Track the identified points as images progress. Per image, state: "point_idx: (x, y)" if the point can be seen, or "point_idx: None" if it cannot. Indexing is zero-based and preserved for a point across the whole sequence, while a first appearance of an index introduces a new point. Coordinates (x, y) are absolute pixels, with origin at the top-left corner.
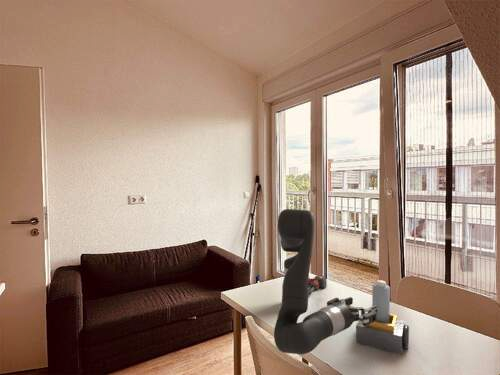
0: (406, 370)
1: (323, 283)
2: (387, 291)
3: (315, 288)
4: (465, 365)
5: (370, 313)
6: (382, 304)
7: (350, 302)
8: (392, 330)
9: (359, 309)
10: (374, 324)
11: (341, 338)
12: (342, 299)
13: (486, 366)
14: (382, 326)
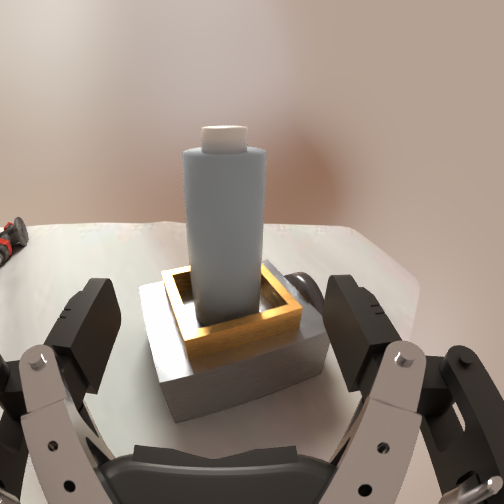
0: None
1: (18, 235)
2: (265, 165)
3: (4, 255)
4: (401, 301)
5: (488, 410)
6: (250, 236)
7: (108, 326)
8: (295, 322)
9: (398, 477)
10: (230, 337)
11: (119, 432)
12: (32, 365)
13: (409, 281)
14: (262, 328)
